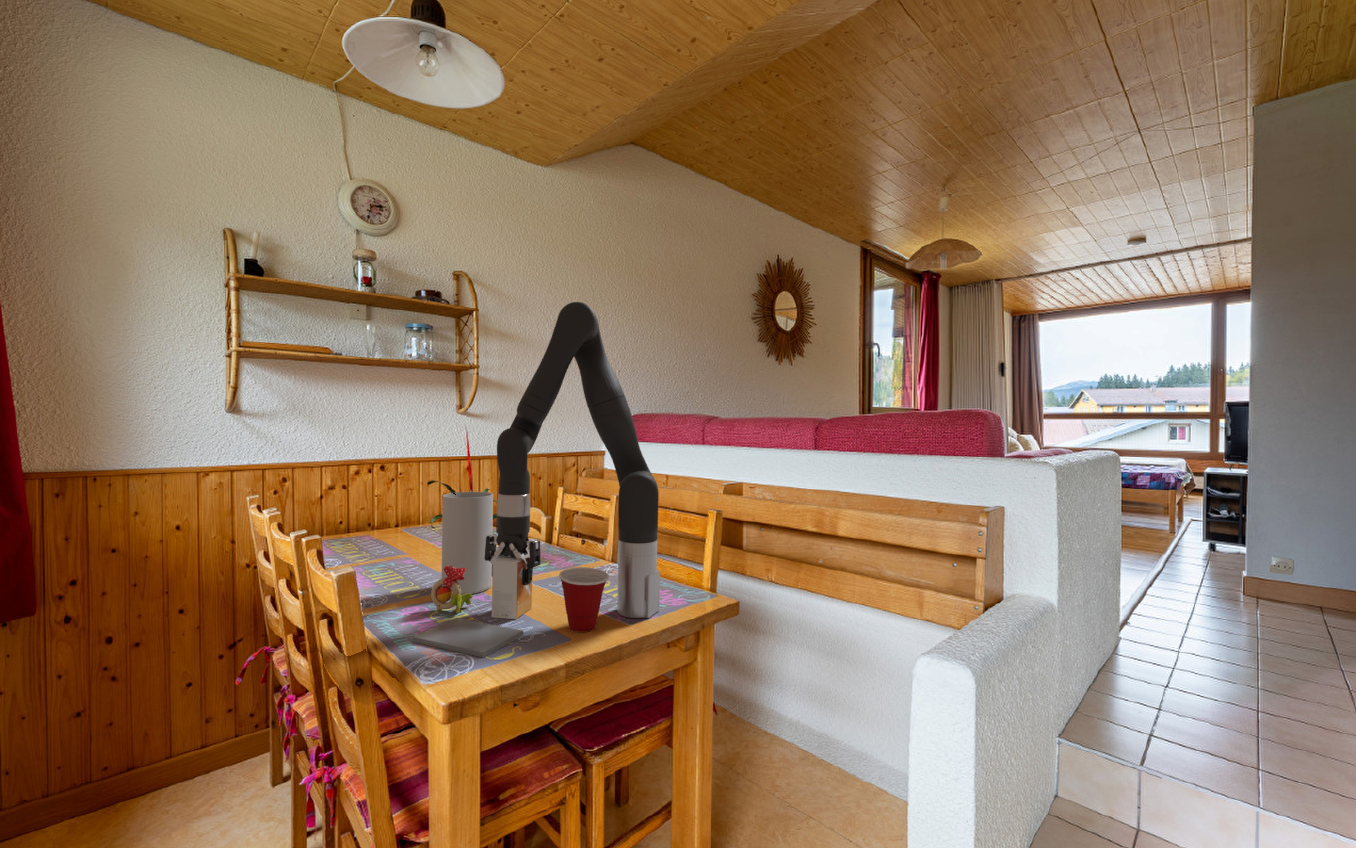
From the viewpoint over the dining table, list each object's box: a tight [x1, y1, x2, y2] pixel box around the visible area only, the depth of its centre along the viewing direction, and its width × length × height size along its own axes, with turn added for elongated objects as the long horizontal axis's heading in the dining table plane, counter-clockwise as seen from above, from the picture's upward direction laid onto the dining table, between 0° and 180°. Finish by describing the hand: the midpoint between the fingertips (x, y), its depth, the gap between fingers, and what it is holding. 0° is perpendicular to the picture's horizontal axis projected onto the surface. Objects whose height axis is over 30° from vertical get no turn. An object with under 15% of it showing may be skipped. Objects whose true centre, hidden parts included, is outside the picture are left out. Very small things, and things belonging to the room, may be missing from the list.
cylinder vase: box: [441, 491, 494, 595], centre depth 148 cm, size 12×12×25 cm
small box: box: [491, 554, 533, 620], centre depth 130 cm, size 8×6×13 cm
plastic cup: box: [558, 566, 610, 633], centre depth 121 cm, size 11×11×12 cm
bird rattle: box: [430, 566, 473, 614], centre depth 131 cm, size 6×11×9 cm
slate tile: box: [412, 617, 525, 658], centre depth 114 cm, size 18×12×1 cm, turn 68°
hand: (511, 582), depth 130 cm, fingers open, 8 cm apart
